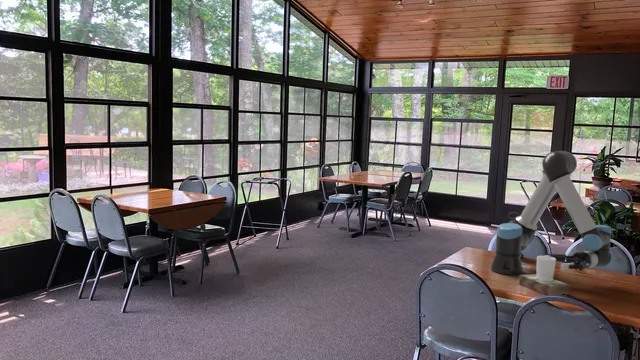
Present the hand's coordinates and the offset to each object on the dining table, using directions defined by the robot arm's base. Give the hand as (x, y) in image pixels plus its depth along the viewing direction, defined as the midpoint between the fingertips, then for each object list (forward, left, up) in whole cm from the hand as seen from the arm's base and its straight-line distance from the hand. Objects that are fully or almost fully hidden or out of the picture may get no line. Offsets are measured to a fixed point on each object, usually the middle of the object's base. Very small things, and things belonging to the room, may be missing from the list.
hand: (549, 262), depth 231 cm
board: (-1, -2, -12) cm, 12 cm away
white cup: (0, -2, -8) cm, 8 cm away
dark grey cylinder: (-52, +28, -12) cm, 60 cm away
